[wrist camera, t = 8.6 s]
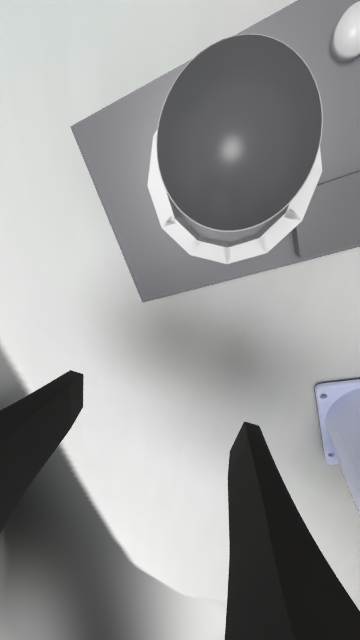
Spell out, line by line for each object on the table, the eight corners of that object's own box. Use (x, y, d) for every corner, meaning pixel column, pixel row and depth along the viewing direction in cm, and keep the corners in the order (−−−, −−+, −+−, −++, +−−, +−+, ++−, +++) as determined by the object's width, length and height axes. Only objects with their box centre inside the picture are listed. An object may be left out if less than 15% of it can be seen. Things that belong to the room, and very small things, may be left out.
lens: (299, 130, 11) (364, 65, 6) (255, 231, 13) (272, 252, 8) (205, 97, 11) (182, 4, 6) (176, 202, 13) (139, 204, 8)
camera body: (365, 230, 15) (414, 242, 11) (155, 287, 19) (134, 311, 15) (357, 5, 11) (428, -103, 7) (98, 138, 15) (51, 118, 11)
